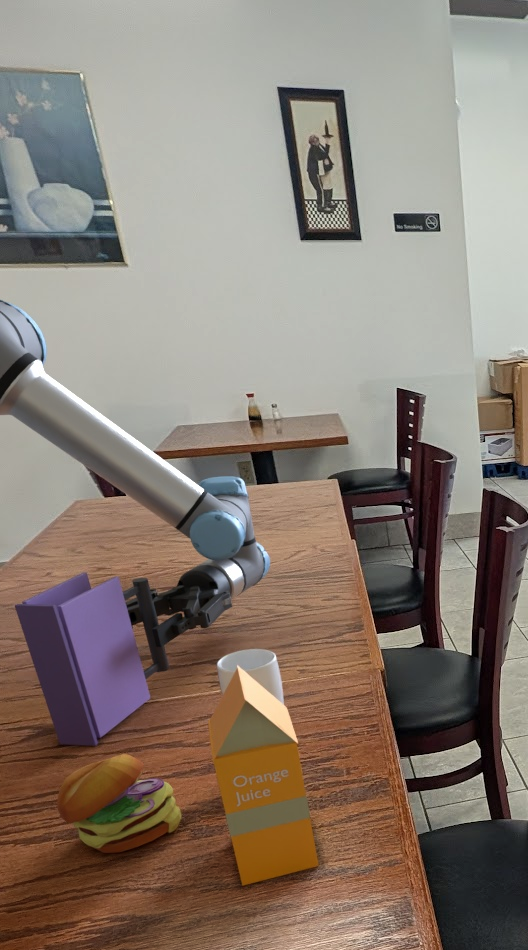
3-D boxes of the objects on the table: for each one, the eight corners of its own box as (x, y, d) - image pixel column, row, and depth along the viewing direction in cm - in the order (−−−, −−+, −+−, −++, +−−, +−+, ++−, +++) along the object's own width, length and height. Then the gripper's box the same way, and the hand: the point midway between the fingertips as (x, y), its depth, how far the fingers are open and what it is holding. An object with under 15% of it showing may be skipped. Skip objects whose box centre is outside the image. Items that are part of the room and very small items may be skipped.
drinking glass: (300, 753, 105) (280, 646, 99) (293, 781, 99) (272, 668, 93) (245, 759, 104) (221, 650, 98) (235, 787, 98) (209, 673, 92)
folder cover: (91, 737, 109) (51, 606, 101) (163, 681, 125) (133, 563, 117) (105, 738, 109) (66, 606, 101) (176, 681, 125) (147, 564, 117)
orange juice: (240, 886, 82) (199, 707, 73) (234, 838, 89) (195, 671, 80) (320, 865, 84) (289, 691, 76) (307, 821, 92) (278, 657, 83)
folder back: (59, 744, 109) (14, 605, 100) (119, 700, 120) (82, 572, 112) (95, 746, 108) (52, 606, 99) (151, 701, 120) (117, 572, 111)
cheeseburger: (169, 855, 86) (121, 778, 82) (74, 880, 87) (21, 806, 82) (198, 800, 95) (157, 729, 91) (112, 824, 96) (67, 754, 91)
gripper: (273, 608, 137) (202, 664, 116) (157, 605, 139) (69, 658, 119) (265, 565, 133) (191, 614, 113) (147, 562, 136) (54, 610, 115)
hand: (129, 637), depth 116 cm, fingers open, 8 cm apart
